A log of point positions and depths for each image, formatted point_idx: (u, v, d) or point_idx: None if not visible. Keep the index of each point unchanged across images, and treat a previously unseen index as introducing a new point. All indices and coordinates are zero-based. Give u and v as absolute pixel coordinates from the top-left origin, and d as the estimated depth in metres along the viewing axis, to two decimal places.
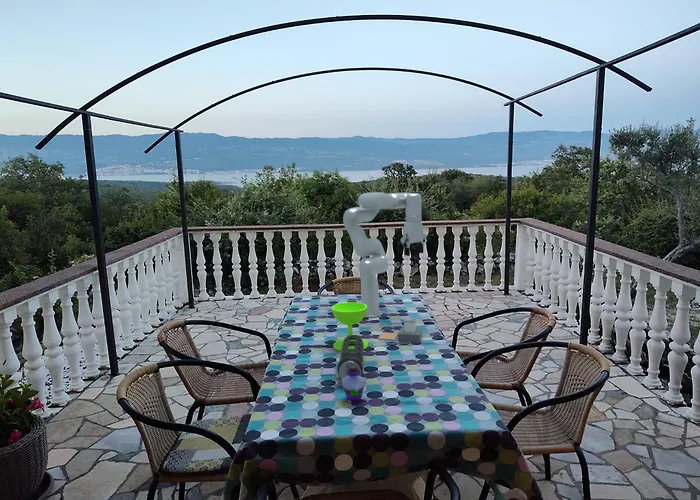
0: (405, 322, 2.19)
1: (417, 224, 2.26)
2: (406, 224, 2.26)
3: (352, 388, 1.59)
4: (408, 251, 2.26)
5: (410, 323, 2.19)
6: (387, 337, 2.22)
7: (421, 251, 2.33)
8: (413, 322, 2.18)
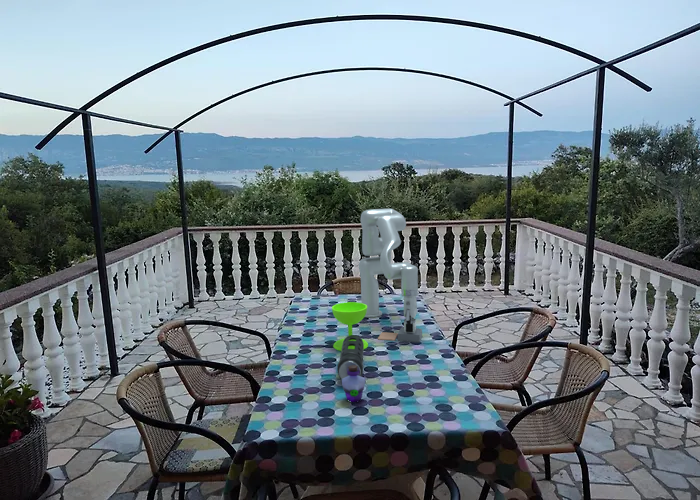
0: (405, 322, 2.19)
1: None
2: None
3: (352, 388, 1.59)
4: None
5: None
6: (387, 337, 2.22)
7: None
8: (413, 322, 2.18)
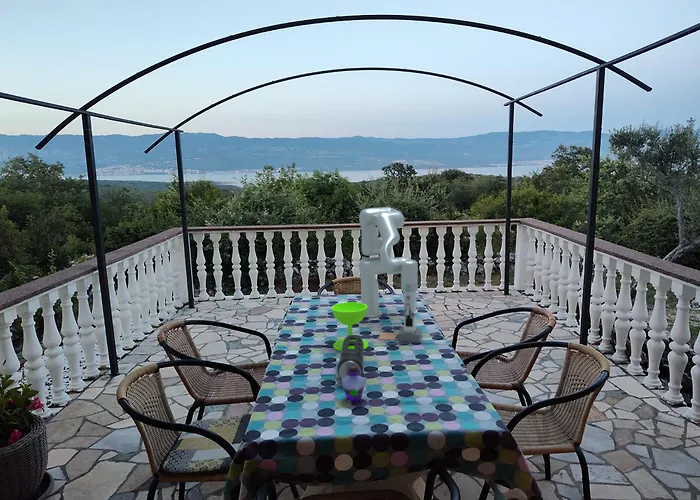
0: (405, 317, 2.19)
1: None
2: None
3: (352, 388, 1.59)
4: None
5: None
6: (387, 337, 2.22)
7: None
8: (413, 317, 2.18)
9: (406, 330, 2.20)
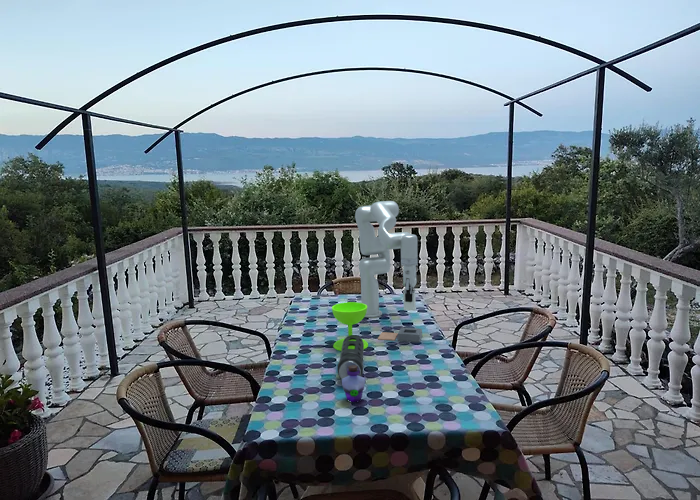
0: (404, 292, 2.17)
1: None
2: None
3: (352, 388, 1.59)
4: None
5: None
6: (387, 337, 2.22)
7: None
8: (412, 292, 2.16)
9: (406, 305, 2.18)
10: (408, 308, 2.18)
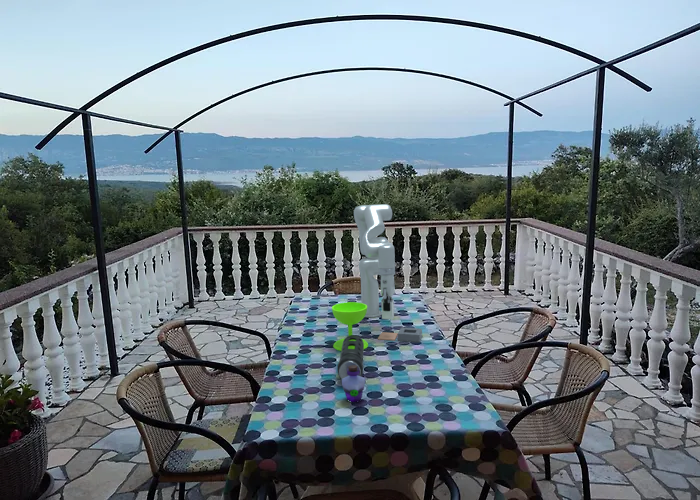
0: (382, 302, 2.20)
1: None
2: None
3: (352, 388, 1.59)
4: None
5: None
6: (387, 337, 2.22)
7: None
8: (390, 301, 2.19)
9: (384, 315, 2.21)
10: (386, 317, 2.21)
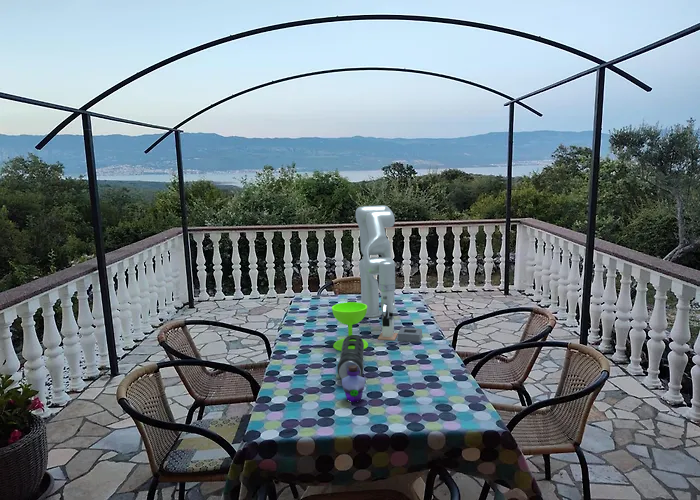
0: None
1: None
2: None
3: (352, 388, 1.59)
4: None
5: None
6: (387, 337, 2.22)
7: None
8: (391, 319, 2.21)
9: (384, 332, 2.23)
10: (386, 335, 2.23)
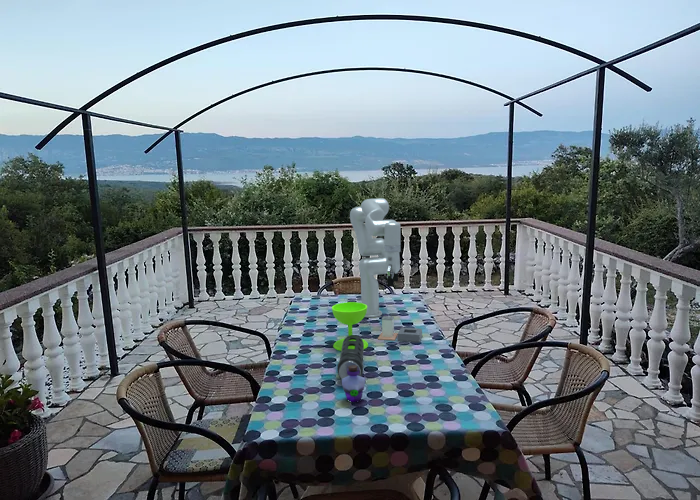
0: (383, 319, 2.22)
1: None
2: None
3: (352, 388, 1.59)
4: None
5: (388, 320, 2.21)
6: (387, 337, 2.22)
7: None
8: (391, 319, 2.21)
9: (384, 332, 2.23)
10: (386, 335, 2.23)
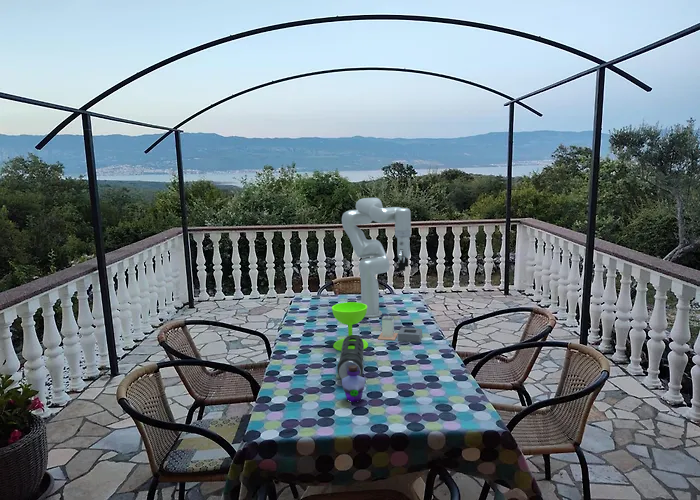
0: (383, 319, 2.22)
1: None
2: None
3: (352, 388, 1.59)
4: None
5: (388, 320, 2.21)
6: (387, 337, 2.22)
7: None
8: (391, 319, 2.21)
9: (384, 332, 2.23)
10: (386, 335, 2.23)
